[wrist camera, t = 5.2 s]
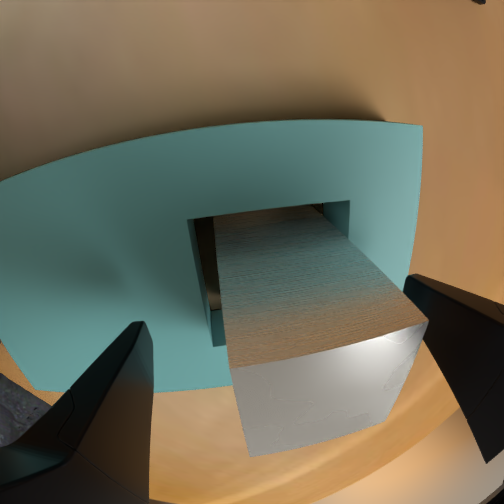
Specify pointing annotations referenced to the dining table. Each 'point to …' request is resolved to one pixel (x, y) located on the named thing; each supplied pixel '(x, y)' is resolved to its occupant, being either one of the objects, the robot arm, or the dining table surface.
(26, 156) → the dining table surface
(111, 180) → the bore block
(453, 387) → the robot arm
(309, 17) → the dining table surface
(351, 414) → the square bit
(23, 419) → the dark slate chunk
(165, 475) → the dining table surface
